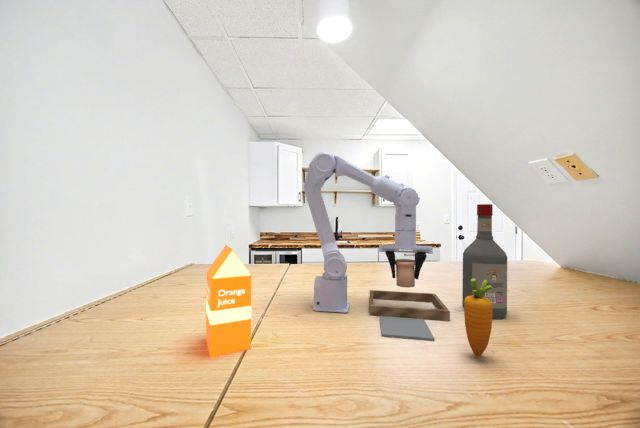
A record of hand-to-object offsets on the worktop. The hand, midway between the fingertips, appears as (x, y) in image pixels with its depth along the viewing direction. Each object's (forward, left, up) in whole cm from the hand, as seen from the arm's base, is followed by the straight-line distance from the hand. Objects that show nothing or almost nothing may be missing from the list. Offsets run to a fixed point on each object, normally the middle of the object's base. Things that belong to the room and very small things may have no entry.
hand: (405, 278), depth 78 cm
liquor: (+21, +1, -9) cm, 23 cm away
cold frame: (0, +1, -9) cm, 9 cm away
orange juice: (-39, -29, -9) cm, 49 cm away
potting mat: (-2, -14, -9) cm, 17 cm away
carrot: (+10, -25, -9) cm, 28 cm away
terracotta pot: (0, 0, -2) cm, 2 cm away
